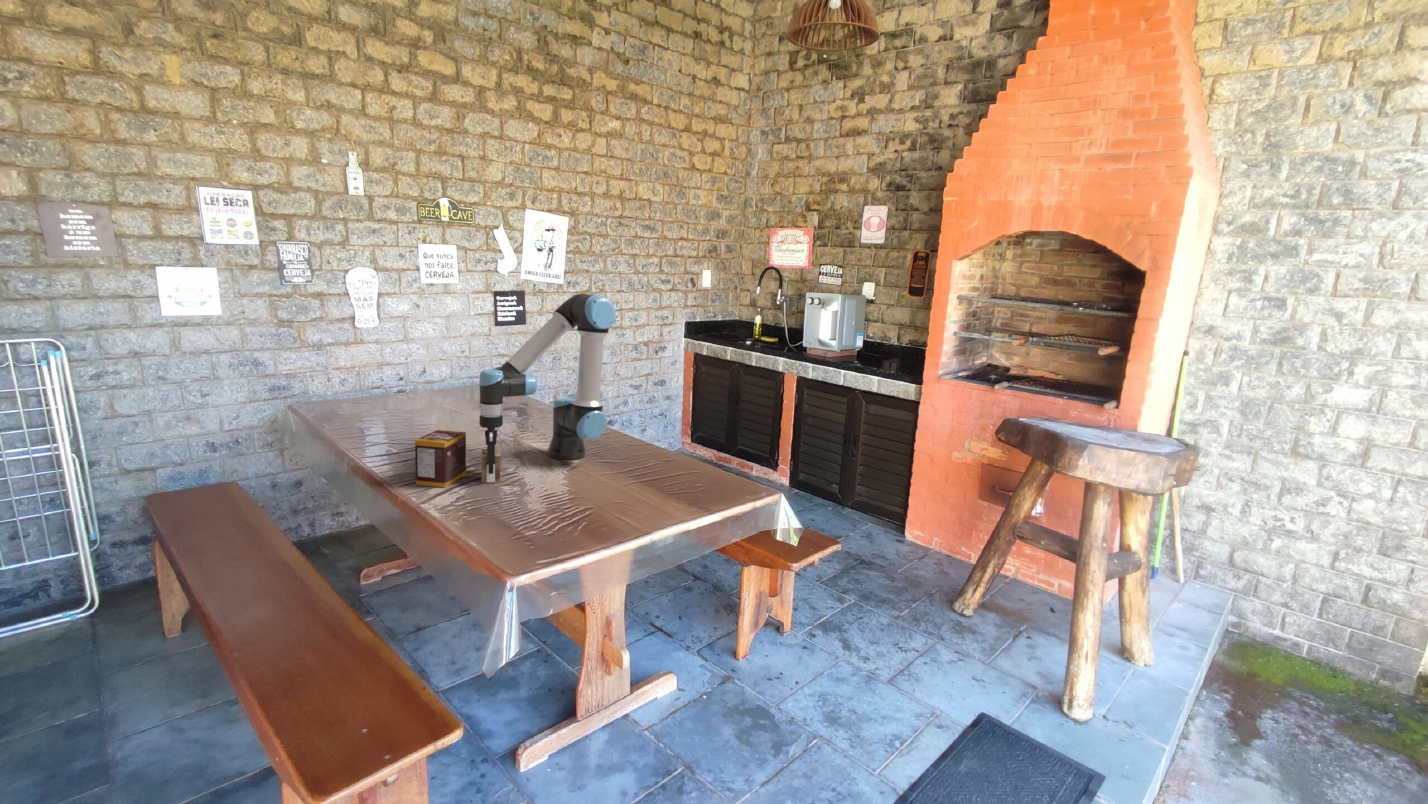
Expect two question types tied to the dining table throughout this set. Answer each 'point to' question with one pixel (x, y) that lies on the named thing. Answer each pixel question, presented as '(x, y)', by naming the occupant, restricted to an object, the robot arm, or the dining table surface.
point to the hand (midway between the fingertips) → (490, 477)
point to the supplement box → (440, 458)
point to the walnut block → (484, 467)
